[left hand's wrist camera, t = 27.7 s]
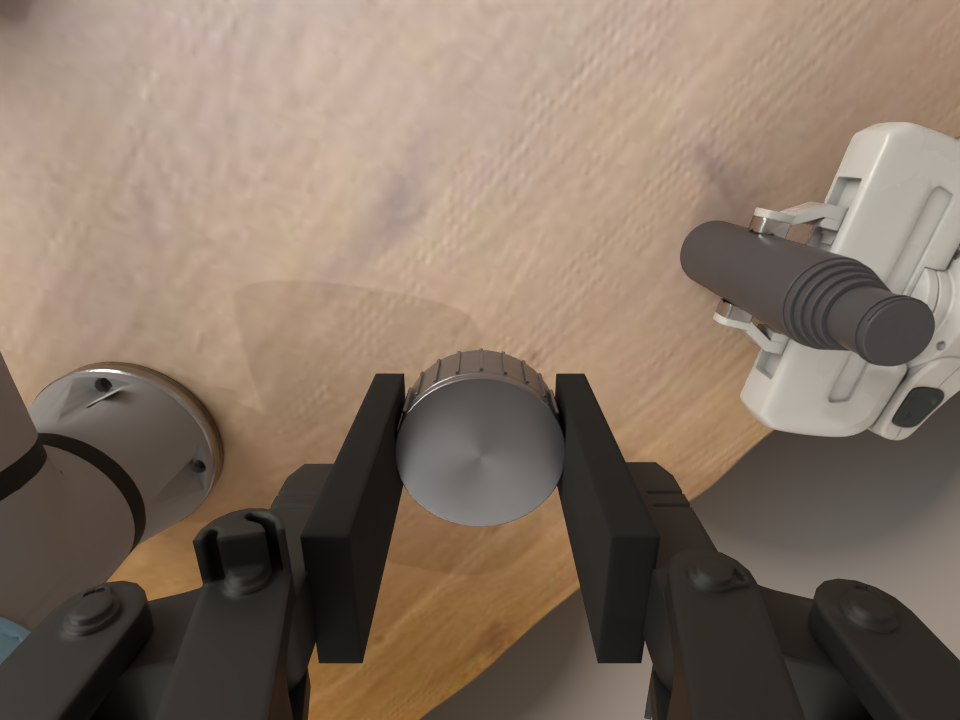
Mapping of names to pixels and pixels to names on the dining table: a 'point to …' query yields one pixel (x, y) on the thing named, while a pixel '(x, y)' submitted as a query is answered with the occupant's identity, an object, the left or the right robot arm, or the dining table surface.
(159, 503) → the left robot arm
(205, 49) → the dining table surface
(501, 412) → the cap
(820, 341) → the bottle
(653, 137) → the dining table surface
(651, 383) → the dining table surface
